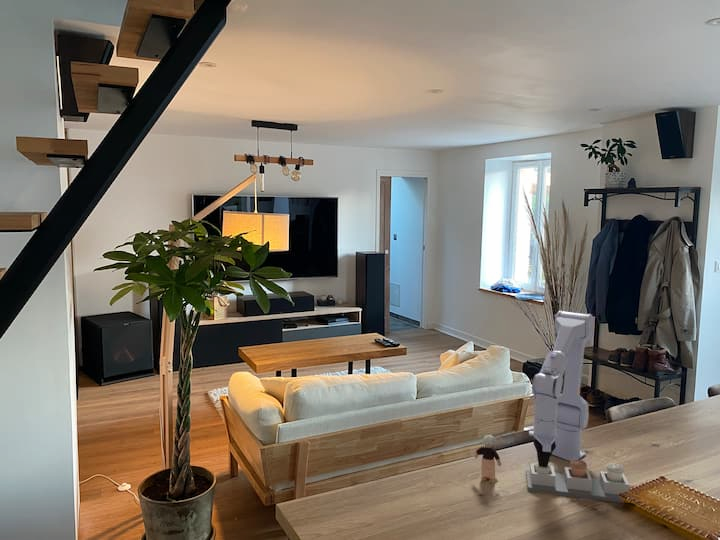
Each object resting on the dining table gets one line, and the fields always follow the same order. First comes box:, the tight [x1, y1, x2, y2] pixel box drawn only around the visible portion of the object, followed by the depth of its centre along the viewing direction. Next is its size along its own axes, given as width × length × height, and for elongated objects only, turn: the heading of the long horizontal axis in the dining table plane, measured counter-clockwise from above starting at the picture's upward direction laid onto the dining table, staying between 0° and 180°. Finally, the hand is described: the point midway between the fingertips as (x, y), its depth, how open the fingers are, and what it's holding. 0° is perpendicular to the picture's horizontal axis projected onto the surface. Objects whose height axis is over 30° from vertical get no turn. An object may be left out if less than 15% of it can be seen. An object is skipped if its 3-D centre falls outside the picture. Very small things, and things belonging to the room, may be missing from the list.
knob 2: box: [606, 463, 624, 483], centre depth 142 cm, size 4×4×4 cm
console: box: [525, 462, 631, 504], centre depth 145 cm, size 26×10×4 cm, turn 76°
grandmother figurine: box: [473, 434, 502, 484], centre depth 149 cm, size 8×4×13 cm, turn 65°
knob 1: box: [534, 462, 552, 474], centre depth 147 cm, size 4×4×4 cm
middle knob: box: [570, 459, 588, 478], centre depth 145 cm, size 4×4×4 cm
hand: (542, 465), depth 147 cm, fingers closed, pressing on knob 1
